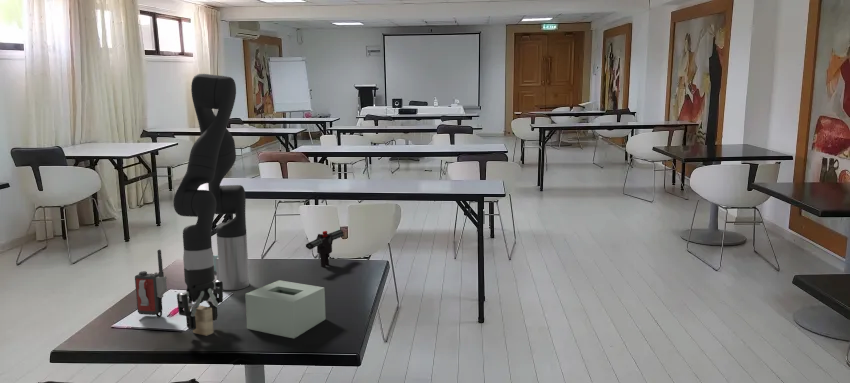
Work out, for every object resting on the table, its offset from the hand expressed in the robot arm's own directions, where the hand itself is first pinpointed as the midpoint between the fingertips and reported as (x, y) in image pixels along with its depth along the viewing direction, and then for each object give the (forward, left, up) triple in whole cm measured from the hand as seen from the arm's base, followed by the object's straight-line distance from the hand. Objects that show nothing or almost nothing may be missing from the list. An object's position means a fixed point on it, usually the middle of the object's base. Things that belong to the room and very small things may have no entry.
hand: (202, 324), depth 170 cm
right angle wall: (-42, +45, -3) cm, 62 cm away
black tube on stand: (-4, +62, -3) cm, 62 cm away
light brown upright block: (0, 0, -2) cm, 2 cm away
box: (+17, +14, -2) cm, 22 cm away
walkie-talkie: (-22, +2, -3) cm, 22 cm away
